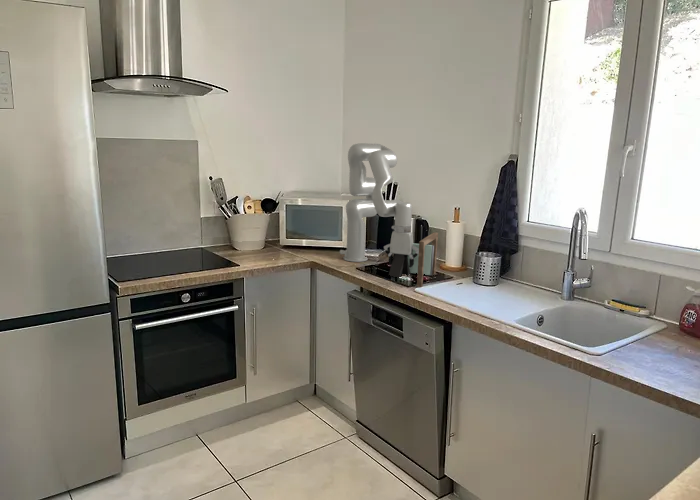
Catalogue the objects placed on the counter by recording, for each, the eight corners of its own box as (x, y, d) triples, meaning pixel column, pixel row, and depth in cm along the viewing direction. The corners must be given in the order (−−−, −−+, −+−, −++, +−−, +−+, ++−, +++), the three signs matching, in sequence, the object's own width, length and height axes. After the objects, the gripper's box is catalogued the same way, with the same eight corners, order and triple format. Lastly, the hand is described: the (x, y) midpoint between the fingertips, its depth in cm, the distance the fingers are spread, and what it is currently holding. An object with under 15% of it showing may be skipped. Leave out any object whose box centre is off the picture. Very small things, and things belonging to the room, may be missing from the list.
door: (432, 274, 249) (434, 245, 246) (431, 275, 248) (433, 246, 245) (394, 269, 256) (395, 241, 254) (393, 270, 255) (394, 241, 252)
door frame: (416, 286, 230) (419, 241, 226) (431, 273, 253) (434, 232, 249) (421, 287, 230) (423, 241, 225) (435, 274, 253) (438, 232, 248)
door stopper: (398, 278, 243) (399, 252, 240) (388, 275, 247) (389, 250, 244) (410, 275, 249) (411, 250, 247) (400, 272, 253) (401, 248, 251)
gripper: (382, 228, 243) (380, 265, 247) (418, 232, 237) (416, 269, 240) (387, 226, 250) (385, 261, 254) (423, 229, 244) (421, 266, 247)
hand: (400, 265), depth 247 cm, fingers open, 9 cm apart
